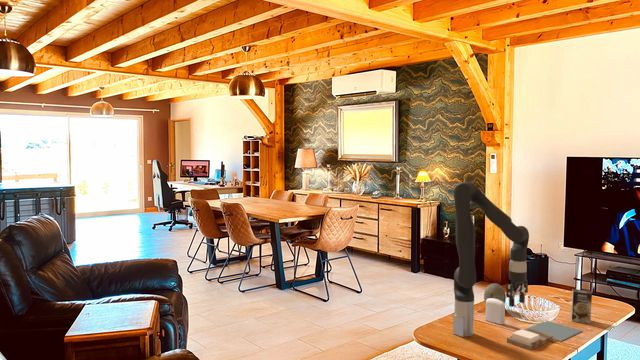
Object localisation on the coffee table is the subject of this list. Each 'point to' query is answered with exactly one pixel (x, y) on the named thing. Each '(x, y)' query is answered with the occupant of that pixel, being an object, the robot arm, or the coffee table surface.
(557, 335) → the mat
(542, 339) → the deck
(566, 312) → the coffee table surface
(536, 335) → the tile
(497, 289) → the decorative egg
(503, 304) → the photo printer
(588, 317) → the coffee box
